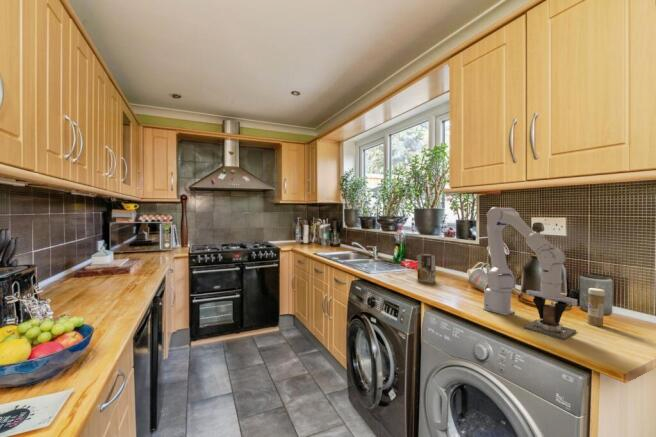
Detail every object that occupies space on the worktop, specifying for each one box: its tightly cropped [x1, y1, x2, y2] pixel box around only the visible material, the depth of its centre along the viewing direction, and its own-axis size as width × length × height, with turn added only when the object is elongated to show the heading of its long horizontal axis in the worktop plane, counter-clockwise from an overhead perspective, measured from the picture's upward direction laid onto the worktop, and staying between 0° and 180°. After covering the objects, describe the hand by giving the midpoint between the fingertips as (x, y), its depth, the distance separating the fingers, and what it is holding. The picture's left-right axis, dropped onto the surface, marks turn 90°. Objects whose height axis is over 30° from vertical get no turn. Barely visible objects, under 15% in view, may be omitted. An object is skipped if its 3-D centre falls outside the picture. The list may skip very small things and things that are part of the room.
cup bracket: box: [523, 318, 577, 341], centre depth 103 cm, size 12×12×2 cm
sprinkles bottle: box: [586, 287, 606, 327], centre depth 108 cm, size 5×5×14 cm
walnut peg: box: [543, 303, 557, 326], centre depth 103 cm, size 4×4×7 cm
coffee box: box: [416, 253, 437, 284], centre depth 175 cm, size 9×6×16 cm
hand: (549, 320), depth 103 cm, fingers closed on walnut peg, 4 cm apart
